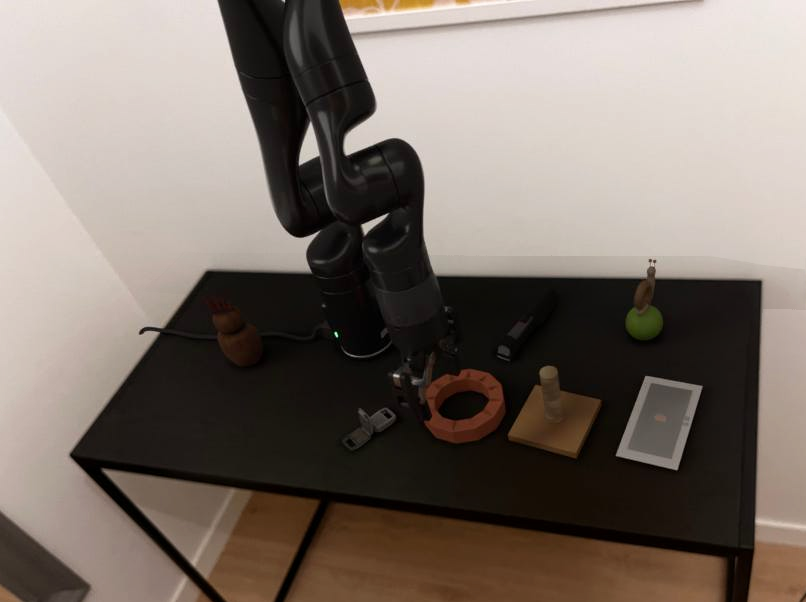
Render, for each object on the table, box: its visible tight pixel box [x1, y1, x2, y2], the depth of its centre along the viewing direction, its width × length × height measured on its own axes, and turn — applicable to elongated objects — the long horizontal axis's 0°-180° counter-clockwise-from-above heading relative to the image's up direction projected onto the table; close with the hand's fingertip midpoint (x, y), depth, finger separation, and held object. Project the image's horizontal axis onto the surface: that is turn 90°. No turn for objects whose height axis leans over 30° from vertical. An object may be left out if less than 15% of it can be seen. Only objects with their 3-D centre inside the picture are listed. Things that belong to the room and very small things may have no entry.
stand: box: [507, 365, 602, 459], centre depth 96 cm, size 10×10×10 cm
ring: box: [423, 368, 507, 445], centre depth 104 cm, size 12×12×3 cm
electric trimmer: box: [494, 287, 558, 362], centre depth 114 cm, size 4×16×3 cm, turn 142°
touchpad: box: [615, 375, 704, 471], centre depth 95 cm, size 8×15×2 cm, turn 154°
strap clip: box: [341, 407, 397, 451], centre depth 104 cm, size 8×3×4 cm, turn 128°
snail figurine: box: [625, 258, 664, 341], centre depth 105 cm, size 5×6×12 cm
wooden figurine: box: [201, 293, 264, 367], centre depth 118 cm, size 7×6×15 cm
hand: (439, 395), depth 96 cm, fingers open, 8 cm apart
